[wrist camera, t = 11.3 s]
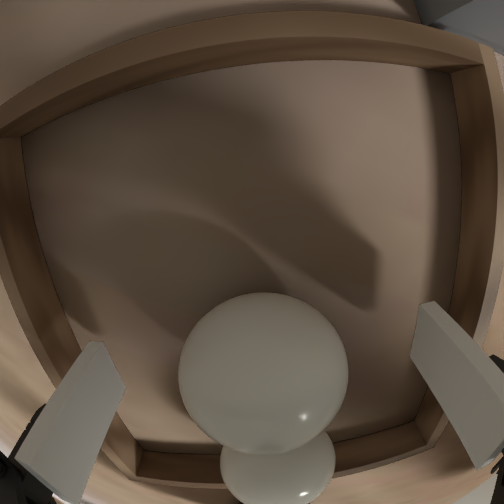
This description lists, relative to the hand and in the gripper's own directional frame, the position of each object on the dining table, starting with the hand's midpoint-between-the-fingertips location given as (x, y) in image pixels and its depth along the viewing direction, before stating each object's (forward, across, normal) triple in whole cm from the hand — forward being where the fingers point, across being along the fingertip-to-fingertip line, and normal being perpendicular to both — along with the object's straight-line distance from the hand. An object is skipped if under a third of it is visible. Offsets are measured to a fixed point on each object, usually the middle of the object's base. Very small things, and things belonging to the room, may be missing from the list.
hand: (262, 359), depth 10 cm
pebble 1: (+2, 0, 0) cm, 2 cm away
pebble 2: (+2, 0, +7) cm, 7 cm away
